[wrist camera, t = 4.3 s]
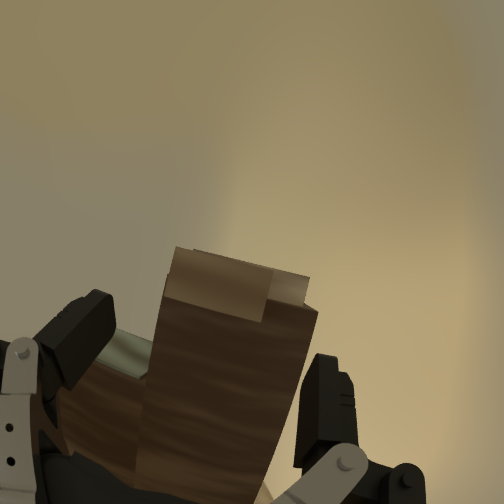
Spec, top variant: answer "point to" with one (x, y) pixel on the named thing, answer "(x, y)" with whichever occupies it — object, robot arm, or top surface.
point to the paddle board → (231, 284)
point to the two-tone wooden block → (191, 400)
